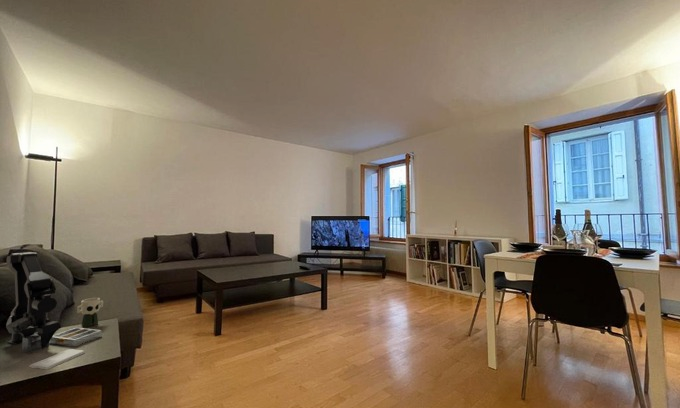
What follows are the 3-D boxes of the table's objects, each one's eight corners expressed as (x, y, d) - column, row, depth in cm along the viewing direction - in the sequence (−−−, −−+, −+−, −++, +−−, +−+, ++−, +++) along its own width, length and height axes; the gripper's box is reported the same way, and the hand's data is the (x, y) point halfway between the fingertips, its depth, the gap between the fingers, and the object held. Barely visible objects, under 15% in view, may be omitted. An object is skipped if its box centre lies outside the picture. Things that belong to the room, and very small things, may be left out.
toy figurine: (79, 330, 134) (81, 303, 135) (72, 328, 137) (73, 301, 138) (106, 323, 144) (107, 297, 145) (98, 321, 147) (99, 296, 148)
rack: (47, 343, 121) (48, 336, 121) (76, 333, 131) (76, 327, 132) (73, 347, 117) (74, 340, 117) (101, 336, 128) (101, 330, 128)
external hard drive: (84, 354, 112) (46, 371, 100) (68, 352, 114) (29, 368, 101) (84, 350, 112) (46, 366, 100) (68, 348, 114) (29, 364, 102)
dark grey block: (21, 352, 113) (22, 337, 113) (43, 345, 119) (44, 331, 120) (27, 353, 112) (28, 338, 112) (49, 345, 119) (49, 331, 119)
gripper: (-6, 313, 111) (-8, 353, 110) (28, 316, 107) (26, 358, 106) (31, 304, 122) (29, 341, 121) (63, 307, 117) (61, 345, 117)
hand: (35, 346), depth 116 cm, fingers open, 9 cm apart
